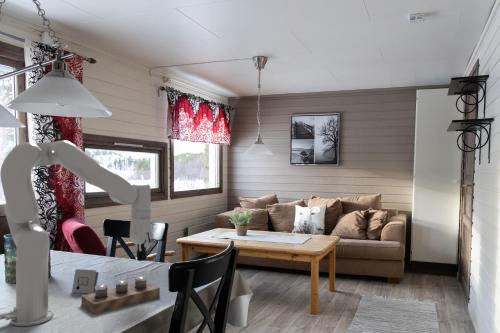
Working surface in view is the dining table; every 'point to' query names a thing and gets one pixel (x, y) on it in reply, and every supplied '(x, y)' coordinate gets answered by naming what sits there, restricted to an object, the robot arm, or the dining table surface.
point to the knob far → (140, 282)
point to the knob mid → (121, 286)
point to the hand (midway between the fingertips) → (141, 260)
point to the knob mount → (119, 298)
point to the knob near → (101, 291)
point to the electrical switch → (85, 281)
